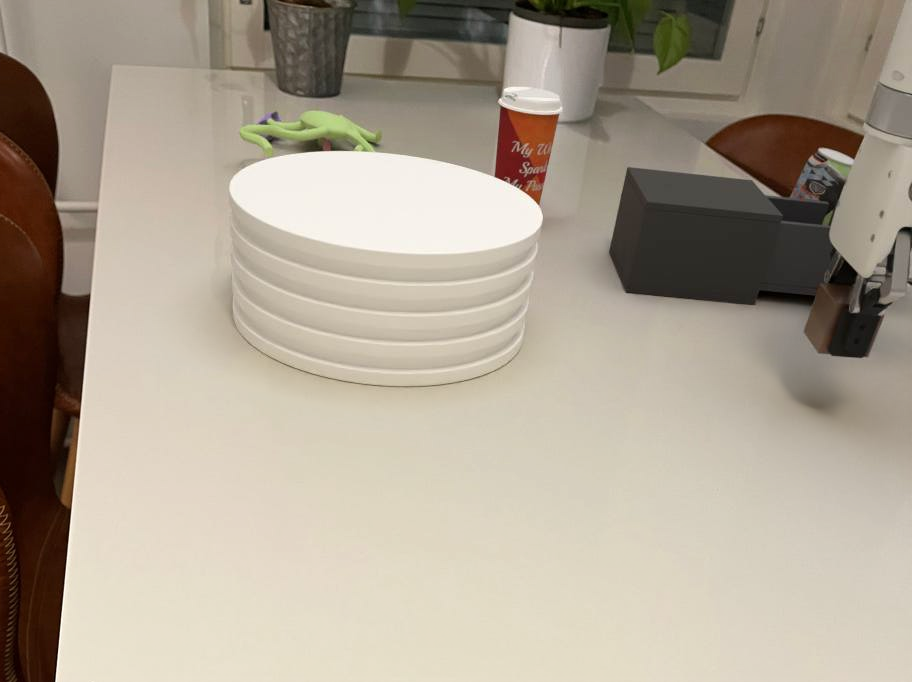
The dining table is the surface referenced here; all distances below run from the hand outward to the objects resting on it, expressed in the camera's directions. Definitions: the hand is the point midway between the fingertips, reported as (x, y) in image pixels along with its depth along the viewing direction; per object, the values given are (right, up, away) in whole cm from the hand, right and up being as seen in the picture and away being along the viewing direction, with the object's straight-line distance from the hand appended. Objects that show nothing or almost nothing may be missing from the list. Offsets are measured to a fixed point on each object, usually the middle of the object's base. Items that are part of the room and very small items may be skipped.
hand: (836, 340), depth 87 cm
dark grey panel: (+7, +15, +27) cm, 31 cm away
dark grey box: (-7, +15, +26) cm, 31 cm away
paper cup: (-26, +27, +37) cm, 52 cm away
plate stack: (-41, +4, +8) cm, 42 cm away
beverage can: (+10, +22, +37) cm, 45 cm away
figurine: (-52, +39, +47) cm, 80 cm away
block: (0, 0, 0) cm, 0 cm away
